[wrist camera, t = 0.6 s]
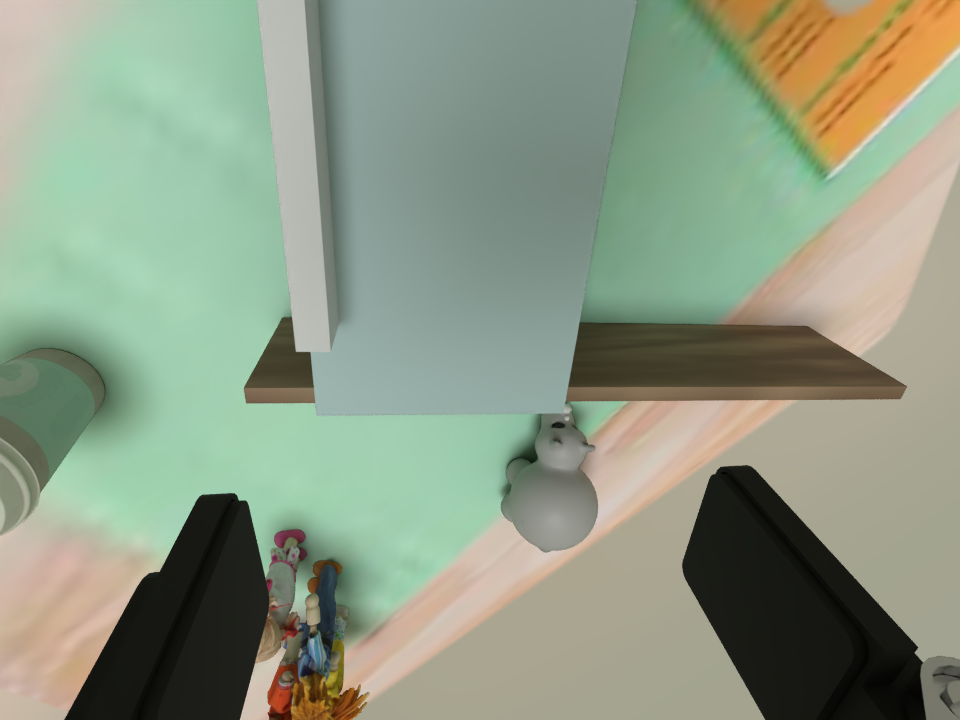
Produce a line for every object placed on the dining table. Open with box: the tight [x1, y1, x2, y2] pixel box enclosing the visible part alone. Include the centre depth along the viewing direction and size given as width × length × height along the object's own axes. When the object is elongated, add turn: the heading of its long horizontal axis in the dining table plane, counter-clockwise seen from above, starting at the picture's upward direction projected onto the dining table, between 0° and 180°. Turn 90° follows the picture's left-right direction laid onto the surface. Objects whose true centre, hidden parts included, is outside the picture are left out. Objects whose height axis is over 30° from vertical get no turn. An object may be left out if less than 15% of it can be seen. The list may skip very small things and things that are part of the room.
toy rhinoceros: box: [501, 403, 598, 552], centre depth 42 cm, size 7×12×8 cm, turn 166°
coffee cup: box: [0, 349, 105, 536], centre depth 31 cm, size 8×8×12 cm
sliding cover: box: [257, 0, 637, 416], centre depth 21 cm, size 27×14×4 cm, turn 176°
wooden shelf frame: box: [244, 318, 907, 403], centre depth 29 cm, size 27×42×10 cm, turn 86°
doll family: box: [255, 530, 369, 720], centre depth 44 cm, size 21×10×13 cm, turn 174°
